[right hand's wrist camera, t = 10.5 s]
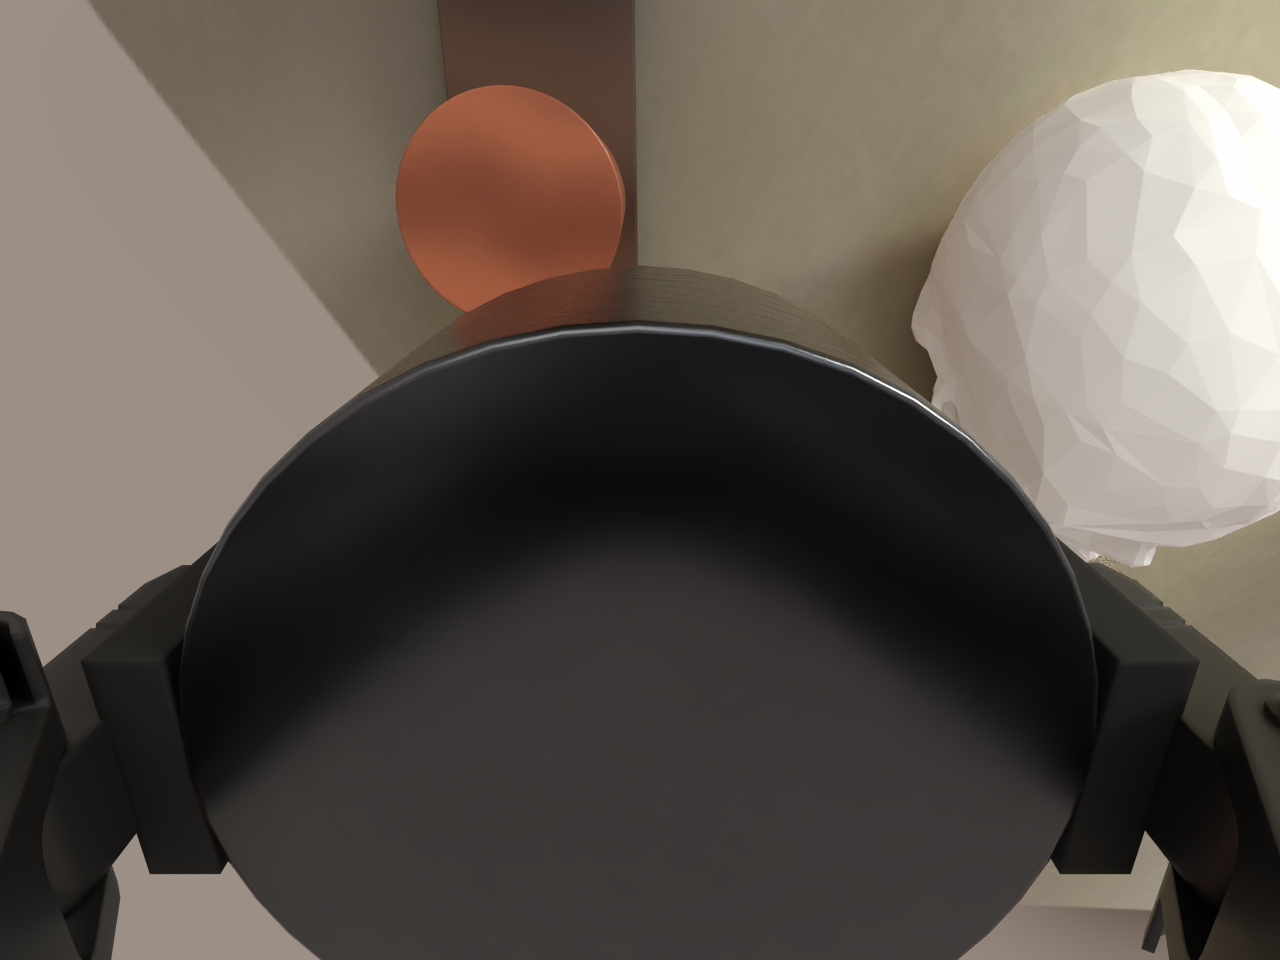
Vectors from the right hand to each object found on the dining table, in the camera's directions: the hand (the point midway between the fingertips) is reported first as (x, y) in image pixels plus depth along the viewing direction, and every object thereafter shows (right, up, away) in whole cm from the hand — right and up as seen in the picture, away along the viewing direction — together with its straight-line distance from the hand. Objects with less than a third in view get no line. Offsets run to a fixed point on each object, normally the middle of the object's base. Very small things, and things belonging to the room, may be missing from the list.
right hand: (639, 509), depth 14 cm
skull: (+19, +7, +24) cm, 32 cm away
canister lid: (0, -1, -2) cm, 3 cm away
